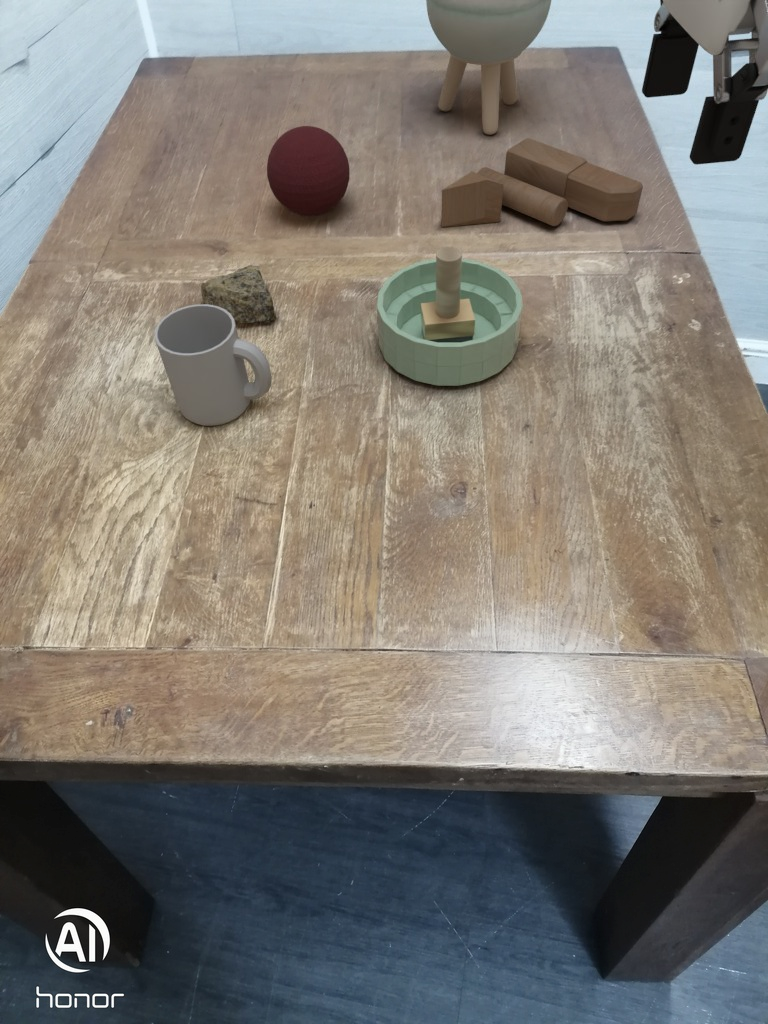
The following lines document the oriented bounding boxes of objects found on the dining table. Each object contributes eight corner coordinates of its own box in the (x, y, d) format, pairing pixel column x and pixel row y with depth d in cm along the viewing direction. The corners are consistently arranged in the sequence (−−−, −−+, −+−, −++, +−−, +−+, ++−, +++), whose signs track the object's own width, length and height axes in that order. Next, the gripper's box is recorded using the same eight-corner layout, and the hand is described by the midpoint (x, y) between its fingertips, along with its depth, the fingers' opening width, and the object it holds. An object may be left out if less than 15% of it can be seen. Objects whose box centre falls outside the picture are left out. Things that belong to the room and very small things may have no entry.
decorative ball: (363, 221, 95) (357, 140, 87) (285, 239, 93) (272, 158, 85) (338, 183, 101) (331, 104, 93) (265, 199, 99) (251, 120, 91)
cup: (193, 373, 78) (171, 301, 71) (287, 383, 77) (274, 310, 70) (168, 423, 74) (141, 351, 67) (267, 435, 73) (251, 362, 66)
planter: (406, 106, 114) (404, -79, 96) (501, 82, 117) (515, -100, 100) (458, 153, 104) (466, -42, 87) (559, 125, 108) (586, -67, 91)
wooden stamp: (467, 326, 80) (472, 240, 73) (473, 347, 78) (479, 261, 70) (420, 330, 80) (420, 245, 72) (424, 352, 78) (425, 266, 70)
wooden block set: (522, 126, 97) (648, 171, 89) (518, 169, 101) (637, 217, 93) (434, 179, 89) (564, 234, 81) (434, 223, 94) (556, 280, 86)
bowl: (543, 334, 80) (549, 289, 76) (464, 410, 74) (466, 366, 69) (433, 286, 86) (434, 242, 82) (351, 353, 79) (347, 309, 75)
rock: (213, 338, 82) (203, 303, 78) (201, 296, 86) (191, 261, 83) (278, 323, 83) (272, 288, 79) (263, 283, 88) (256, 248, 84)
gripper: (942, -184, 34) (795, 185, 47) (776, -247, 45) (695, 68, 58) (776, -171, 34) (676, 196, 47) (650, -237, 44) (598, 77, 58)
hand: (687, 125), depth 53 cm, fingers open, 9 cm apart
